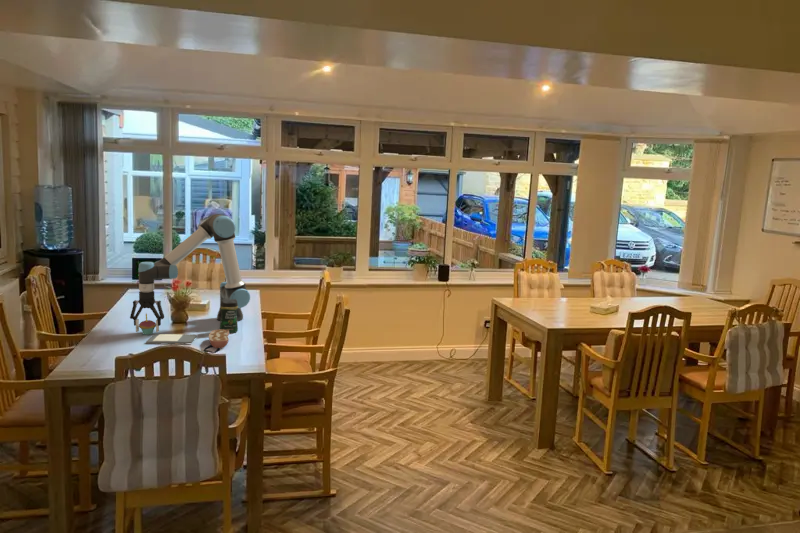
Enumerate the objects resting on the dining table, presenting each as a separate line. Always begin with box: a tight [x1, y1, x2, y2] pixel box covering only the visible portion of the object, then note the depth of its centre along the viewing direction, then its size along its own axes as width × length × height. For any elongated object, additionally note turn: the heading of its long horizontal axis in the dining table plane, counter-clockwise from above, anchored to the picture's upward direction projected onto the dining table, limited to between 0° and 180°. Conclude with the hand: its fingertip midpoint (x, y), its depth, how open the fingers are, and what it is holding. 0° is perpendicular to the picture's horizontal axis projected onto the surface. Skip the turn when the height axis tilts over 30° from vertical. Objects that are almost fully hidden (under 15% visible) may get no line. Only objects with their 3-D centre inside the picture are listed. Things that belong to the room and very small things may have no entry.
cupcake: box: [139, 313, 156, 335], centre depth 316 cm, size 9×8×12 cm
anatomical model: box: [208, 328, 230, 349], centre depth 303 cm, size 23×10×5 cm, turn 15°
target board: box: [145, 333, 198, 345], centre depth 306 cm, size 22×14×2 cm, turn 97°
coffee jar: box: [219, 299, 239, 334], centre depth 325 cm, size 10×8×19 cm
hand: (147, 331), depth 317 cm, fingers open, 10 cm apart
